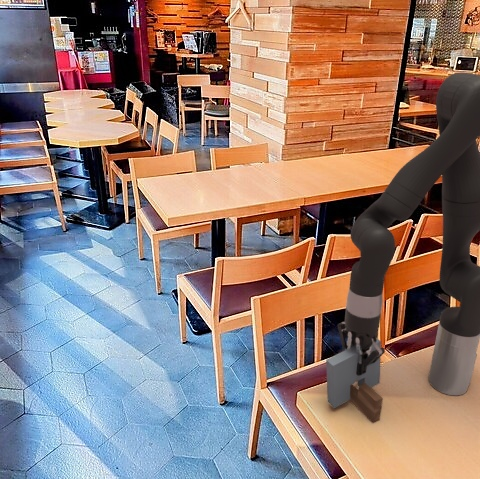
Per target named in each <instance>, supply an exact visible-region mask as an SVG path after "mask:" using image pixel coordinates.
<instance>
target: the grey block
mask: <svg viewBox="0 0 480 479" xmlns="http://www.w3.org/2000/svg"><path fill="white" fill-rule="evenodd" d="M376 339H377V338H376ZM376 343H377V345H378V346H379V348H382V341H381V340H380V339H379V338H378V339H377V341H376ZM371 349H372V348H371ZM370 354H371V353H370ZM363 357H364V355H363ZM325 362H326V364H325V365H326V394H327V396H326V397H327V403H328V404H329V405H330V406H331V407H332V408H333V409H336V408H338V407H339V406H342V405H343V404H345V403H347V402H349V400H350V385H352V384H353V385H354V384H355V383H357V386H358V387H359V386H360V385H362V384H365V383H366V384H367V385H368V386H369V387H371V388H372V389H373V388H374V387H375V386H377V385H379V384H381V383H380V380H381V378H380V375H381V357H380V358H379V359H378V360H377V361H376V362H375V363H373V364H371V365H368V366H367V370H366V373H365V374H362V375H360V376H358V375H357V374H356V371H357V363H358V354H357V353H356V345H355V346H353V347H351V348H349V349H345V350H343V351H341V352H339V353H337V354H334V355H333V356H331V357H329V358H327V359H326V361H325Z"/></svg>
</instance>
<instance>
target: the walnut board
mask: <svg viewBox="0 0 480 479" xmlns="http://www.w3.org/2000/svg"><path fill="white" fill-rule="evenodd" d="M383 400H384V397H382V396H381V395H380V394H379V393H378V392H377V391H375V390H374V388H373V387H372V388H371V387H369V386H368V385H367V384H366V383H365V384H362V385H360V386H358V388H357V387H356V386H355V385H354V384H352V385H350V400H348V402H350V403H351V404H352V405H353V406H354V407H355V408H356V409H357V410H358V411H360V413H362V415H364V417H365V418H366V419H367V420H369V421H370V422H371V423H372V424H375V423H377V422H379V421H380V420H381V414H382V408H383V407H382V406H383Z"/></svg>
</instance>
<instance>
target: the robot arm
mask: <svg viewBox="0 0 480 479" xmlns="http://www.w3.org/2000/svg"><path fill="white" fill-rule="evenodd" d="M435 99H436V100H435V109H436V110H435V111H436V112H435V113H436V120H437V127H438V134H439V136H438V137H437V138H436V139H435V140H434V141H433V142H432V143H431V144H430V145H428V146H427V147H425V149H424V150H422V151H420V153H418V154H417V155H415V156H414V157H412V158H411V159H410V160H408V161H407V162H406V163H405V164H404V165H403V166H402V167H401V168H400V169H399V170H398V171H397V173H396V174H395V175H394V176H393V178H392V180H390V182H389V184H388V185H387V186H386V187H385V189H384V191H383V192H382V194H381V196H380V197H378V199H377V200H375V201H374V202H373V203H372V204H371V205H369V207H367V209H365V210H364V211H363V212H362V213H361V214H360V215H359V216H358V218H357V219H356V220H355V221H354V223H353V226H352V227H351V231H350V239H351V241H352V244H354V246H355V247H356V248H357V249H358V250H359V252H360V258H359V261H356V262H355V263H354V264H353V265H352V268H351V271H350V276H349V277H350V278H349V279H350V280H349V286H348V288H349V289H348V292H347V296H346V303H345V304H346V305H345V314H344V321H342V322H340V323H337V330H338V335H339V339H340V343H341V347H342V349H345V350H347V349H349V348H351V347H353V346H355V345H356V353H357V354H358V363H357V371H356V374H357V375H358V376H360V375H362V374H365V373H366V370H367V366H368V365H371V364H373V363H375V362H376V361H377V360H378V359H379V358H380V359H381V357H383V356H382V355H384V354H385V353H386V350H385V348H384V347H381V348H379V346H378V345H377V343H376V341H377V339H376V332H377V330H378V331H379V328H380V323H381V316H382V310H383V303H384V300H383V299H384V296H383V293H384V292H383V291H384V285H385V280H386V279H385V277H386V275H387V274H386V273H387V272H388V270H389V267H390V266H391V263H392V260H393V257H394V255H395V251H396V241H395V236H394V234H393V233H392V231H391V230H390V229H388V228H389V227H390V226H391V225H393V223H394V222H395V221H396V220H397V221H406V220H407V219H409V218H410V217H411V215H413V213H414V211H415V210H417V208H418V207H419V205H420V204H421V202H422V201H423V200H424V198H425V197H426V196H427V194H428V192H430V190H431V188H433V186H434V185H435V184H436V182H437V181H438V180H439V179H440V178H441V184H442V186H441V206H442V207H441V209H442V212H441V213H442V248H441V256H440V257H441V258H440V265H439V267H440V268H439V285H440V288H441V289H442V290H443V292H444V293H445V294H447V295H449V296H450V297H451V298H453V299H454V300H456V301H458V302H459V303H460V306H449V307H446V308H444V309H443V310H442V311H441V313H440V317H439V322H438V326H437V331H436V338H435V341H434V342H435V343H434V346H433V347H434V348H433V353H432V357H431V363H430V368H429V373H428V376H427V377H428V382H429V384H430V385H431V387H433V389H435V390H436V391H438V392H440V393H442V394H445V395H449V396H461V395H462V396H463V394H465V393H467V391H468V388H469V385H471V381H472V378H473V373H474V368H475V364H476V360H477V357H478V353H477V352H478V348H479V347H478V346H479V342H480V265H478V264H476V263H474V262H473V261H472V260H471V243H472V241H473V238H474V237H475V236H476V235H477V234H478V233H479V232H480V150H479V146H478V143H477V139H479V137H480V74H476V73H471V72H456V73H452V74H450V75H449V76H448V77H446V78H445V79H444V80H443V82H442V83H441V85H440V86H439V88H438V91H437V94H436V98H435ZM346 338H347V339H346ZM346 340H347V341H346ZM371 348H372V349H371ZM370 353H371V354H370ZM363 355H364V357H363Z"/></svg>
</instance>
